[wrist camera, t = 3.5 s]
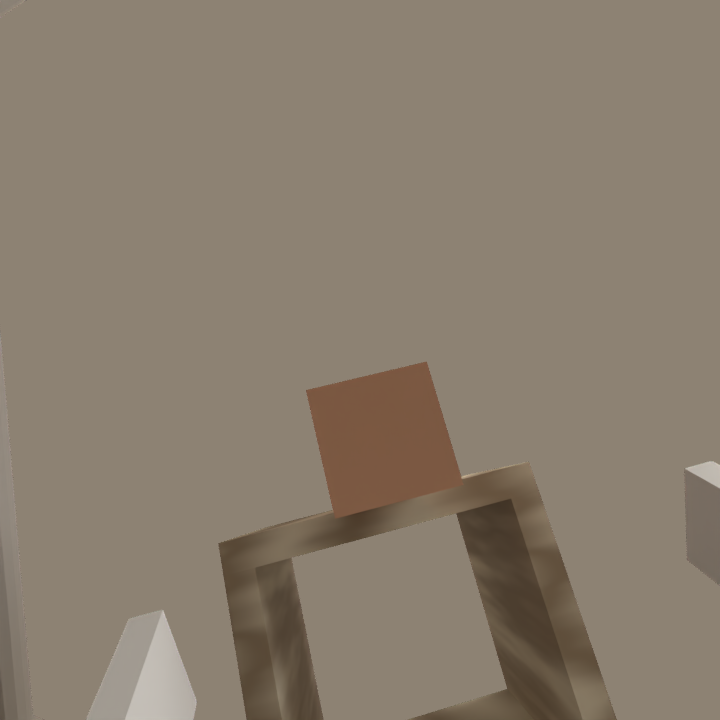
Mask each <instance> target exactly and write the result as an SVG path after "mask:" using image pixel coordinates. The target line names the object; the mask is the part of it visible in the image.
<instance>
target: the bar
mask: <svg viewBox="0 0 720 720" xmlns="http://www.w3.org/2000/svg"><path fill="white" fill-rule="evenodd" d="M306 392H307V396H308V401H309V405H310V410H311V414H312V419H313V423H314V428H315V432H316V436H317V441H318V445H319V450H320V454H321V458H322V463H323V467H324V472H325V476H326V481H327V485H328V490H329V494H330V498H331V503H332V507H333V512H334V516H335V519H336V518H340V517H344V516H348V515H351V514H355V513H359V512H363V511H367V510H370V509H374V508H378V507H382V506H386V505H389V504H393V503H397V502H401V501H404V500H408V499H412V498H416V497H420V496H423V495H427V494H431V493H435V492H439V491H442V490H446V489H450V488H454V487H457V486H461V485H464V484H463V481H462V478H461V474H460V471H459V468H458V464H457V461H456V458H455V455H454V451H453V449H452V444H451V441H450V438H449V434H448V431H447V428H446V424H445V422H444V418H443V414H442V411H441V408H440V404H439V401H438V398H437V395H436V391H435V388H434V384H433V381H432V378H431V375H430V371H429V368H428V365H427V362H423V363H419V364H415V365H410V366H407V367H402V368H398V369H393V370H389V371H385V372H381V373H377V374H373V375H368V376H364V377H360V378H356V379H352V380H347V381H343V382H339V383H335V384H331V385H326V386H322V387H318V388H313V389H309V390H306Z"/></svg>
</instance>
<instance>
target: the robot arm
mask: <svg viewBox="0 0 720 720" xmlns="http://www.w3.org/2000/svg"><path fill="white" fill-rule="evenodd" d="M24 1H26V0H0V18H1V17H2V16H4V15H5V14H7V13H8V12H10V11H11V10H13V9H14V8H16V7H17V6H19V5H20V4H22V3H23V2H24ZM684 473H685V508H686V539H687V540H686V542H687V560H688V561H689V562H690V563H692V564H693V565H694V566H695V567H697V568H698V569H699V570H700V571H702V572H703V573H704V574H706V575H707V576H708V577H709V578H711V579H712V580H713V581H714V582H716V583H717V584H718V585H719V586H720V465H718V464H717V463H715V462H713V461H710V462H706V463H702V464H699V465H695V466H691V467H688V468H685V469H684ZM196 704H197V701H196V698H195V695H194V692H193V690H192V687H191V684H190V682H189V679H188V676H187V674H186V671H185V668H184V665H183V663H182V660H181V657H180V655H179V652H178V649H177V647H176V644H175V641H174V638H173V636H172V633H171V631H170V628H169V625H168V622H167V620H166V617H165V615H164V611H163V610H159V611H156V612H152V613H148V614H145V615H141V616H137V617H133V618H130V619H129V620H128V622H127V624H126V627H125V629H124V631H123V634H122V636H121V638H120V641H119V643H118V646H117V648H116V650H115V653H114V655H113V657H112V660H111V662H110V664H109V667H108V669H107V671H106V674H105V676H104V679H103V681H102V683H101V685H100V688H99V690H98V692H97V695H96V697H95V700H94V702H93V704H92V707H91V709H90V711H89V713H88V716H87V718H86V720H193V719H194V714H195V709H196ZM0 720H44V719H41V718H39V717H37V716H34V715H33V708H32V696H31V685H30V674H29V661H28V650H27V638H26V626H25V615H24V604H23V592H22V580H21V568H20V556H19V546H18V533H17V521H16V510H15V499H14V486H13V475H12V463H11V451H10V440H9V428H8V416H7V405H6V393H5V382H4V370H3V358H2V346H1V335H0Z"/></svg>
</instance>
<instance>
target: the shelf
mask: <svg viewBox="0 0 720 720" xmlns="http://www.w3.org/2000/svg"><path fill="white" fill-rule="evenodd" d="M461 478H462V481H463V484H464V485H461V486H457V487H454V488H450V489H446V490H442V491H439V492H435V493H431V494H427V495H423V496H420V497H416V498H412V499H408V500H404V501H401V502H397V503H393V504H389V505H386V506H382V507H378V508H374V509H370V510H367V511H363V512H359V513H355V514H351V515H348V516H344V517H340V518H336V519H335V516H334V512H333V510H331V511H327V512H323V513H320V514H316V515H312V516H308V517H304V518H300V519H297V520H293V521H289V522H285V523H281V524H277V525H274V526H270V527H266V528H263V529H260V530H257V531H254V532H251V533H248V534H245V535H242V536H239V537H236V538H233V539H230V540H227V541H224V542H221V543H219V550H220V557H221V563H222V569H223V575H224V581H225V587H226V594H227V600H228V606H229V613H230V619H231V625H232V631H233V637H234V644H235V650H236V656H237V662H238V669H239V675H240V681H241V687H242V693H243V700H244V706H245V712H246V718H247V720H323V715H322V711H321V705H320V700H319V695H318V690H317V685H316V679H315V675H314V670H313V664H312V659H311V654H310V649H309V644H308V639H307V634H306V629H305V624H304V619H303V614H302V609H301V604H300V599H299V594H298V589H297V584H296V579H295V574H294V569H293V563H292V557H296V556H300V555H304V554H307V553H311V552H315V551H318V550H322V549H326V548H329V547H333V546H336V545H340V544H344V543H348V542H352V541H355V540H359V539H362V538H366V537H370V536H374V535H378V534H381V533H385V532H389V531H392V530H396V529H400V528H403V527H407V526H411V525H414V524H418V523H422V522H426V521H430V520H433V519H437V518H441V517H444V516H448V515H452V514H455V513H456V514H457V517H458V521H459V524H460V528H461V531H462V535H463V538H464V541H465V545H466V548H467V552H468V555H469V558H470V562H471V565H472V569H473V572H474V576H475V579H476V582H477V586H478V589H479V593H480V596H481V599H482V603H483V607H484V610H485V613H486V617H487V620H488V624H489V627H490V631H491V634H492V637H493V641H494V644H495V648H496V651H497V655H498V658H499V661H500V665H501V668H502V672H503V675H504V679H505V682H506V685H507V689H506V690H503V691H500V692H496V693H493V694H490V695H487V696H483V697H480V698H477V699H473V700H470V701H467V702H464V703H461V704H457V705H454V706H451V707H447V708H444V709H441V710H438V711H435V712H431V713H428V714H425V715H422V716H418V717H415V718H412V719H409V720H617V719H616V716H615V713H614V710H613V707H612V704H611V702H610V698H609V696H608V692H607V690H606V687H605V684H604V681H603V678H602V675H601V672H600V669H599V666H598V663H597V660H596V657H595V654H594V651H593V648H592V645H591V643H590V640H589V637H588V634H587V631H586V628H585V625H584V622H583V619H582V616H581V613H580V610H579V607H578V604H577V602H576V598H575V596H574V593H573V590H572V587H571V584H570V581H569V578H568V575H567V572H566V569H565V566H564V563H563V560H562V557H561V554H560V552H559V549H558V545H557V543H556V540H555V537H554V534H553V531H552V528H551V525H550V522H549V519H548V516H547V513H546V511H545V507H544V504H543V501H542V499H541V495H540V493H539V490H538V487H537V484H536V481H535V479H534V475H533V472H532V469H531V466H530V463H529V462H525V463H520V464H516V465H511V466H506V467H502V468H497V469H492V470H487V471H483V472H478V473H474V474H469V475H464V476H461Z"/></svg>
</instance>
